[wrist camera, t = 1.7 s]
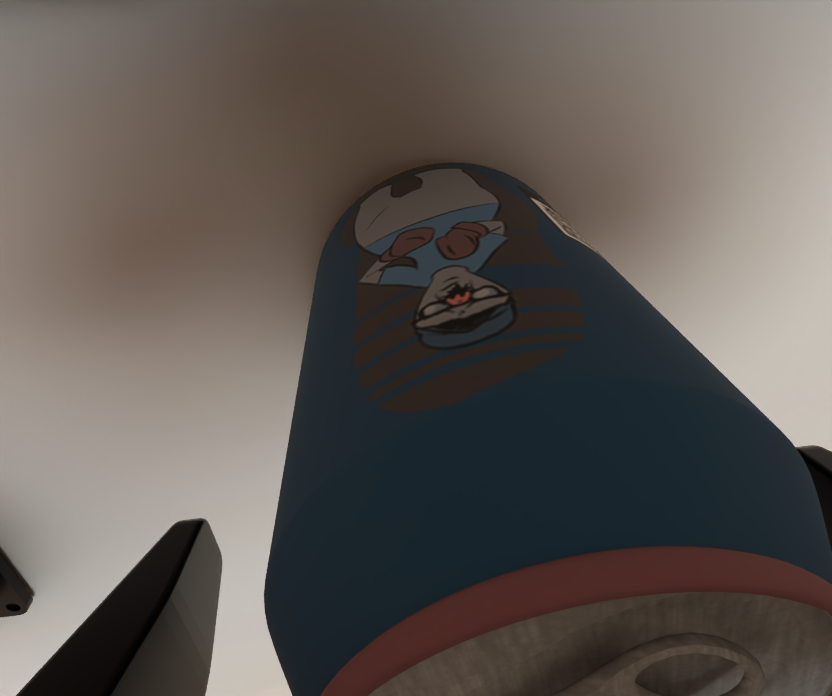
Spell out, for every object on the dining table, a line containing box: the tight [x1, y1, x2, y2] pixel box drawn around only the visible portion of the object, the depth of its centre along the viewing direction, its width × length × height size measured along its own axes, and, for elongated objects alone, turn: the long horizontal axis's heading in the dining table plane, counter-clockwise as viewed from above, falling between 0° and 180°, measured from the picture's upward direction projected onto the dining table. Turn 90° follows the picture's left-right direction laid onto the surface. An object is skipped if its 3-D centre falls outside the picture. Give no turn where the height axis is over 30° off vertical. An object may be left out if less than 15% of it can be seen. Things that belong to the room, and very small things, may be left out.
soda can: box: [264, 163, 832, 696], centre depth 10 cm, size 7×7×12 cm
